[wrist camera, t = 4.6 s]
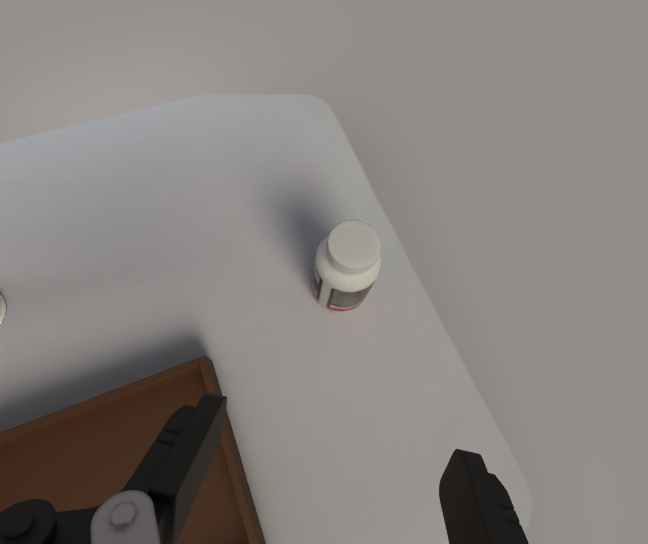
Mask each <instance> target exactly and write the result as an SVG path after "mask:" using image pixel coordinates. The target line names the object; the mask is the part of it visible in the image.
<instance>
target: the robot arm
mask: <svg viewBox="0 0 648 544" xmlns="http://www.w3.org/2000/svg"><path fill="white" fill-rule="evenodd" d="M226 403H227V397H225V396H221V395H216V394H212V393H207V392H205V393H204V394H203V396H202V397H201V399H200V401H199V402H198V404H197V406H196V407H194V406H189V405H184V406H182V407H181V408H180V409H178V410H177V411H176V412H174V413H173V414H172V415H171V416H170V418H169V419H168V421H167V422H166V424H165V426H164V427H163V430H162V431H161V432H160V433H159V435H158V436H157V438H156V440H155V442H154V443H153V444H152V446H151V447H150V449H149V450H148V452H147V453H146V455H145V456H144V458H143V460H142V461H141V463H140V464H139V466H138V467H137V469H136V470H135V472H134V473H133V475H132V477H131V478H130V480H129V481H128V483H127V484H126V486H125V487H124V488H123V489H122V490H121V491H120V492H119V493H118V494H116V495H114V496H112V497H110V498H109V499H108V500H106V501H105V502H104V503H103V504H101V505H98V506H95V507H92V508H86V509H78V510H69V511H61V512H55V508H54V507H53V505H52V504H51V503H50V502H48V501H46V500H42V499H30V500H25V501H22V502H19V503H16V504H14V505H12V506H10V507H8V508H6V509H5V510H3V511H2V512H0V544H176V543H177V540H178V538H179V536H180V534H181V531H182V529H183V527H184V524H185V522H186V520H187V518H188V515H189V513H190V511H191V508H192V506H193V504H194V501H195V499H196V497H197V495H198V492H199V490H200V488H201V485H202V483H203V481H204V479H205V476H206V474H207V472H208V469H209V467H210V465H211V462H212V460H213V458H214V456H215V453H216V451H217V449H218V446H219V443H220V440H221V437H222V433H223V427H224V419H225V411H226ZM439 497H440V503H441V507H442V512H443V516H444V521H445V525H446V530H447V534H448V539H449V544H528V541H527V539H526V536H525V534H524V531H523V529H522V526H521V525H520V524H519V519H518V517H517V514H516V512H515V511H514V507H513V504H512V502H511V500H510V497H509V495H508V492H507V490H506V489H505V487H504V486H503V485H502V484H501V482H500V481H499V480H498V478H497V477H496V476H495V475H494V474H490V473H488V472H487V469H486V466H485V464H484V461H483V458H482V457H481V455H480V454H477V453H473V452H468V451H464V450H459V449H456V450H455V451H454V452H453V454H452V456H451V458H450V461H449V463H448V465H447V467H446V469H445V471H444V473H443V475H442V477H441V480H440V485H439Z"/></svg>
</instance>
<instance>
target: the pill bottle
mask: <svg viewBox="0 0 648 544" xmlns="http://www.w3.org/2000/svg"><path fill="white" fill-rule="evenodd" d="M380 249H381V243H380V239H379V236H378V234H377V233H376V231H375V230H374V229H373V228H372V227H371V226H369V225H368V224H366V223H364V222H361V221H356V220H349V221H344V222H342V223H340V224H338V225H337V226H335V227H334V228H333V229H332V231H331V232H330V234H329V235H328V236H327V237H326V238H324V240H323V241H322V242H321V243H320V245H319V247H318V249H317V252H316V256H315V265H314V273H313V280H312V289H313V294H314V296H315V298H316V300H317V301H318V303H319V304H320V305H321V306H322V307H324V308H325V309H327V310H329V311H331V312H335V313H345V312H350V311H352V310H354V309H356V308H357V307H358V306H359V305H360V304H361V303H362V302H363V300H364V299H365V297H366V295H367V294H368V292H369V290H370V289H371V287H372V285H373V283H374V282H375V280H376V279H377V277H378V275H379V272H380V269H381V255H380Z"/></svg>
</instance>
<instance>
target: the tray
mask: <svg viewBox="0 0 648 544" xmlns="http://www.w3.org/2000/svg"><path fill="white" fill-rule="evenodd" d="M205 392H207V393H212V394H216V395H221V396H222V393H221V390H220V387H219V383H218V380H217V376H216V373H215V369H214V366H213V363H212V361H211V360H210V359H208V358H207V357H205V356H204V357H201V358H198V359H196V360H193V361H190V362H188V363H185V364H182V365H180V366H177V367H174V368H172V369H169V370H166V371H164V372H161V373H159V374H156V375H153V376H151V377H148V378H145V379H143V380H140V381H137V382H135V383H132V384H129V385H127V386H124V387H121V388H119V389H116V390H114V391H111V392H108V393H106V394H103V395H100V396H98V397H95V398H92V399H90V400H87V401H84V402H82V403H79V404H76V405H74V406H71V407H68V408H66V409H63V410H61V411H58V412H55V413H53V414H50V415H47V416H45V417H42V418H39V419H37V420H34V421H31V422H29V423H26V424H23V425H21V426H18V427H16V428H13V429H10V430H8V431H5V432H2V433H0V512H2V511H3V510H5V509H6V508H8V507H10V506H12V505H14V504H16V503H19V502H22V501H25V500H30V499H42V500H46V501H48V502H50V503H51V504H52V505H53V507H54V508H55V512H61V511H69V510H78V509H86V508H92V507H95V506H98V505H101V504H103V503H104V502H105V501H106V500H108V499H109V498H110V497H112V496H114V495H116V494H118V493H119V492H120V491H121V490H122V489H123V488H124V487H125V486H126V484H127V483H128V481H129V480H130V478H131V477H132V475H133V473H134V472H135V470H136V469H137V467H138V466H139V464H140V463H141V461H142V460H143V458H144V456H145V455H146V453H147V452H148V450H149V449H150V447H151V446H152V444H153V443H154V442H155V440H156V438H157V436H158V435H159V433H160V432H161V431H162V430H163V427H164V426H165V424H166V422H167V421H168V419H169V418H170V416H171V415H172V414H173V413H174V412H176V411H177V410H178V409H180V408H181V407H182V406H184V405H189V406H194V407H196V406H197V404H198V402H199V401H200V399H201V397H202V396H203V394H204V393H205ZM176 544H266V543H265V540H264V536H263V533H262V530H261V526H260V523H259V519H258V516H257V513H256V509H255V506H254V502H253V499H252V496H251V492H250V489H249V485H248V482H247V478H246V475H245V472H244V468H243V465H242V461H241V458H240V455H239V451H238V448H237V444H236V441H235V438H234V434H233V431H232V427H231V424H230V421H229V417H228V414H227V410H226V411H225V419H224V427H223V433H222V437H221V440H220V443H219V446H218V449H217V451H216V453H215V456H214V458H213V460H212V462H211V465H210V467H209V469H208V472H207V474H206V476H205V479H204V481H203V483H202V485H201V488H200V490H199V492H198V495H197V497H196V499H195V501H194V504H193V506H192V508H191V511H190V513H189V515H188V518H187V520H186V522H185V524H184V527H183V529H182V531H181V534H180V536H179V538H178V540H177V543H176Z"/></svg>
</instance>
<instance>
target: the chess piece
mask: <svg viewBox="0 0 648 544" xmlns="http://www.w3.org/2000/svg"><path fill="white" fill-rule="evenodd" d="M5 313H6V303H5V300H4V298H3V297H2V296H1V295H0V324H1V323H2V321H3V319H4V317H5Z"/></svg>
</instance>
